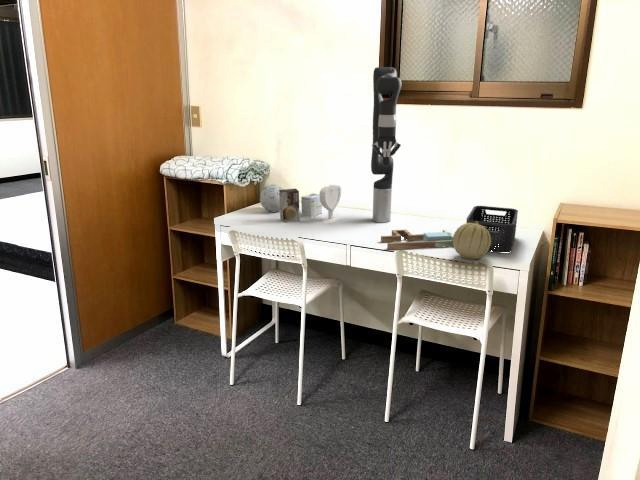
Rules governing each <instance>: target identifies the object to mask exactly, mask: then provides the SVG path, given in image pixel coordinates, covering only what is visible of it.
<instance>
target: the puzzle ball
mask: <svg viewBox="0 0 640 480" xmlns="http://www.w3.org/2000/svg"><path fill="white" fill-rule="evenodd" d="M283 189H284V188H283V187H281V185H278V184H269V185H267V186H265V187H264V188H263V189H262V190H261V191H260V194H259V202H260V204H261V207H262V208H263V209H264V210H266V211H268V212H272V213H275V212H276V213H277V212H280V196H279V190H283Z"/></svg>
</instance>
